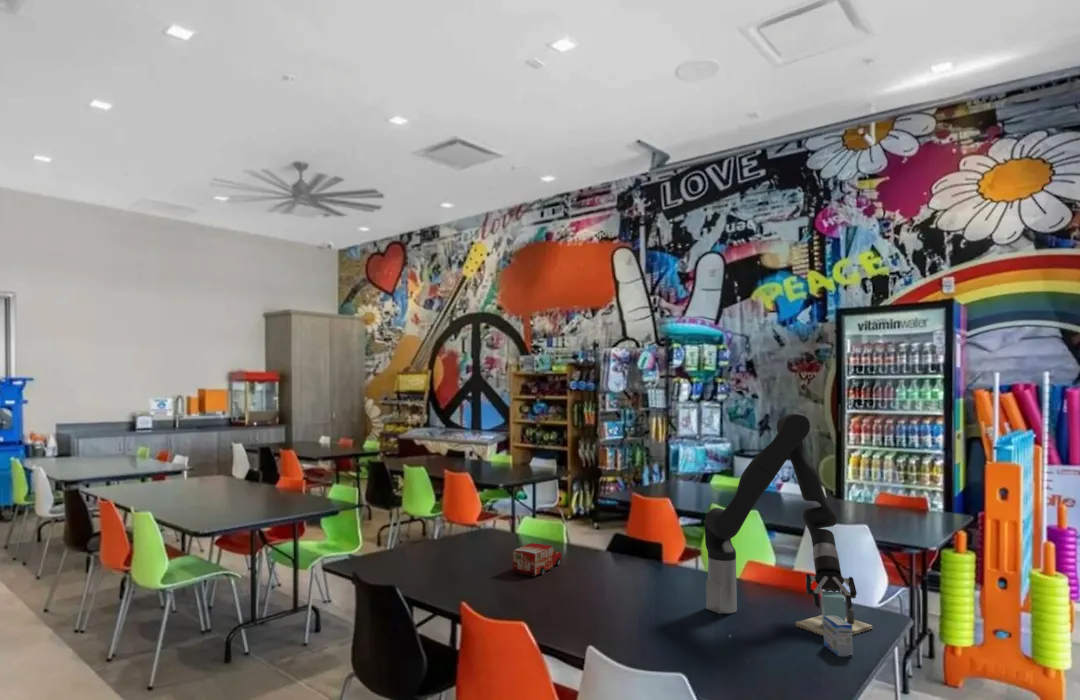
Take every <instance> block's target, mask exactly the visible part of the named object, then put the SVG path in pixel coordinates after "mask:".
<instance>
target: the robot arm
mask: <svg viewBox="0 0 1080 700" xmlns="http://www.w3.org/2000/svg"><path fill="white" fill-rule="evenodd" d="M810 430H811V423H810V420H809V418H808V417H807V416H806V415H805V414H802V413H799V412H794V413H790V414H785V415H783V416H781V417H780V418H779V419H778V420H777V423H776V431H777V433H776V435H775V437H774V439H773V440H772V441H770V443H768V445H767V446H766V447H764V448H763V449H762V450H761V451H760V452H759V453H757V454H756V456H754V457H753V459H752V460H751V461H750V462H749V464H748V465H747V466H746V468H745V469H744V470H743V472H742V474H741V475H740V478H739V481H738V485H737V489H736V493H735V495H734V496H733V498H732V499H731V501H730V502H729V503H728V505H727V506H726V507H725V508H724V509H723V508H719V507H714V508H712V509H710V510H709V511H708V512H707V513H706V514H705V517H704V540H705V541H704V542H705V544H704V545H705V548H706V551H707V579H706V580H705V600H706V601H705V602H706V603H705V605H706V607H705V608H706V610H709V611H712V612H714V613H716V614H719V615H720V614H734V613H736V612H737V611H738V606H737V604H738V599H737V598H738V597H737V595H738V594H737V551H736V548H735V547H734V546H733V543H732V540H731V539H732V538H734V537H735V536H737V534H738V533H739V532H740V530H741V528H742V526H743V525H744V523H745V521H746V519H747V517H748V516H749V515H750V512H751V511H752V509H753V508H754V507H755V505H756V503H757V502H758V501H759V500H760V498H761V497H762V496H763V494H764V492H765V491H766V490H767V489H768V487H770V485H771V483H773V481H774V480H775V479H776V476H777V475H778V473H779V472H780V471H781V469H782V468H783V466H784V464H785V463H786V461H787V460H788V458H789V460H790V462H791V465H792V468H793V470H794V474H795V476H796V480H797V483H798V487H799V491H800V493H801V496H802V498H803V500H804V501H805V502H816V503H818V504H820V506H817V507H809V508H806V509H805V510H804V511H803V514H802V519H803V522H804V524H805V525H806V527H807V530H808V532H809V535H810V538H811V544H812V558H813V562H814V563H813V564H814V570H815V571H814V572H815V575H811V574H810V573H807V574H806V575H805V589H806V590H805V591H806V595H807V596H812V598H813V605H814V606H815V607H816V609H821V608H820V607H821V601H820V594H821V591H829V592H841V594H842V595H843V597H844V603H845V606H846V608H845V609H846V612H847V611H850V609H853V608H852V606H853V603H852V599H856V597H857V594H858V591H857V589H856V585H855V580H854V577H852V576H849V577H847V578H846V577H843V575H842V572H841V565H840V559H839V554H838V551H837V546H836V540H835V535H834V533H833V532H832V531H831V530H830V529H826V528H830V527H834V526H835V525H837V522H838V515H837V512H836V511H835V510H834V508H833V507H832V505H831V503H830V502H829V500H828V499H827V496H826V494H825V493H824V489H823V486H822V482H821V480H820V477H819V474H818V471H817V470H816V468H815V466H814V464H813V463H812V460H811V459H810V457H809V455H808V453H807V451H806V449H805V445H804V439H806V437H807V436H808V435H809V433H810ZM814 581H815V584H817V585H816V587H815V588H814V589H812V584H813V583H814ZM843 584H846V586H847V587H848V588H849V590H847V589H846V587H845V586H844V585H843Z"/></svg>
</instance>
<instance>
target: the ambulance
mask: <svg viewBox="0 0 1080 700" xmlns="http://www.w3.org/2000/svg"><path fill="white" fill-rule="evenodd" d="M561 562H562V552H560V551H555V550H554V547H553V545H548V544H543V543H534V542H532V543H529V544H526V545H523V546H521V547H518V548H516V549H514V550H512V571H511V573H512V574H517V575H524V576H529V577H536V576H538V574H544V573H545V574H546V571H549V570H551V569H553V568H554V566H555V565H559V564H560V565H561V564H562V563H561ZM560 565H559V566H560ZM545 574H544V575H545Z"/></svg>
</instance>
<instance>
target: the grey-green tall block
mask: <svg viewBox="0 0 1080 700" xmlns="http://www.w3.org/2000/svg"><path fill="white" fill-rule="evenodd" d="M820 594H821V615H822V624H823V626H824V616H838V617H840V618H841V619H843V620H844V621H845V617H846V615H845V614H846V612H845V611H846V610H845V609H846V608H845V606H846V602H845V597H844V596H843V595H842V594H841V592H838V591H836V592H833V591H825V590H822V591H821V593H820Z"/></svg>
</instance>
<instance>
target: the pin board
mask: <svg viewBox="0 0 1080 700" xmlns="http://www.w3.org/2000/svg"><path fill="white" fill-rule="evenodd" d="M854 611H855V610H854V608H851V609H850V611H847V610H846V616H845V621H846V622H847V623H849V624H850V625H852V635H853V636H855V635H854V634H856V633H859V634H861V633H860V632H863V631H866V632H868V631H867V630H869V631H871V630H870V629H872V630H873V625H872V624H870V623H865V622H863V621H859V620H857V619H855V612H854ZM795 627H797V628H799V627H800V629H802V628H803V630H805V629H806V631H808V630H809V631H808V632H810V631H812V632H811V633H813V632H814V634H816V633H817V634H816V635H818V634H820V635H819V636H821V635H823V636H822V637H824V626H823V624H822V614H821V615H818V616H814V617H810V618H806V619H802V620H798V621H795ZM863 633H864V632H863ZM856 635H857V634H856Z"/></svg>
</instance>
